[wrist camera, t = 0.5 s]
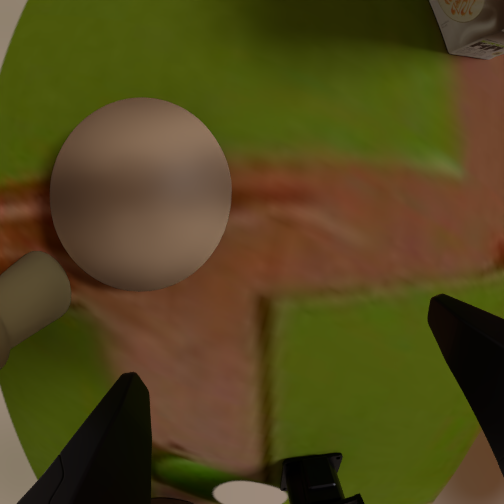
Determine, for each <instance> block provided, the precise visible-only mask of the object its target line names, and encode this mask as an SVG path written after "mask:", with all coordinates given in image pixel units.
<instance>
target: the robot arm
mask: <svg viewBox="0 0 504 504" xmlns="http://www.w3.org/2000/svg"><path fill="white" fill-rule="evenodd" d="M428 324H429V326H430V328H431V330H432V333H433V335H434V337H435V339H436V341H437V343H438V345H439V348H440V350H441V352H442V354H443V356H444V359H445V361H446V363H447V364H448V366H449V368H450V370H451V372H452V373H453V375H454V377H455V379H456V380H457V382H458V384H459V386H460V388H461V389H462V391H463V393H464V395H465V397H466V399H467V400H468V402H469V404H470V406H471V408H472V410H473V412H474V414H475V416H476V418H477V420H478V422H479V424H480V426H481V428H482V430H483V432H484V434H485V436H486V438H487V440H488V442H489V444H490V446H491V448H492V451H493V453H494V455H495V458H496V460H497V462H498V465H499V467H500V469H501V472H502V474H503V477H504V319H502V318H500V317H498V316H496V315H493V314H491V313H488V312H486V311H484V310H481V309H479V308H477V307H474V306H472V305H470V304H467V303H465V302H462V301H460V300H458V299H455V298H453V297H450V296H448V295H445V294H439V295H436V296H434V297H432V298H431V300H430V305H429V311H428ZM151 453H152V431H151V416H150V398H149V391H148V389H147V387H146V386H145V384H144V383H143V381H142V380H141V379H140V377H139V376H138V374H137V373H135V372H130V373H124V374H122V375H121V376H120V377H119V379H118V380H117V381H116V382H115V384H114V385H113V386H112V387H111V389H110V390H109V391H108V392H107V394H106V395H105V396H104V397H103V399H102V400H101V401H100V403H99V404H98V405H97V406H96V408H95V409H94V410H93V411H92V413H91V414H90V415H89V417H88V418H87V419H86V420H85V422H84V423H83V424H82V425H81V427H80V428H79V429H78V431H77V432H76V433H75V434H74V436H73V437H72V438H71V440H70V441H69V442H68V444H67V445H66V446H65V447H64V449H63V450H62V451H61V453H60V455H58V456H57V458H56V459H55V460H54V462H53V463H52V464H51V465H50V467H49V468H48V469H47V470H46V472H45V473H44V474H43V475H42V476H41V478H40V479H39V480H38V481H37V482H36V483H35V484H34V485H33V486H32V488H31V489H30V490H29V491H28V492H27V493H26V494H25V495H24V496H23V497H22V498H21V499H20V501H19V502H18V503H17V504H151ZM342 457H343V456H342V454H341V453H335V454H328V455H321V456H314V457H306V458H297V459H287V460H285V461H284V462H283V469H282V476H281V484H280V490H281V491H288V496H289V502H290V504H364V502H363V499H362V497H361V495H360V493H359V494H356V495H355V496H352V497H349V498H345V497H344V494H343V490H342V487H341V484H340V481H339V478H338V475H337V472H338V469H339V466H340V463H341V461H342Z"/></svg>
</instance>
